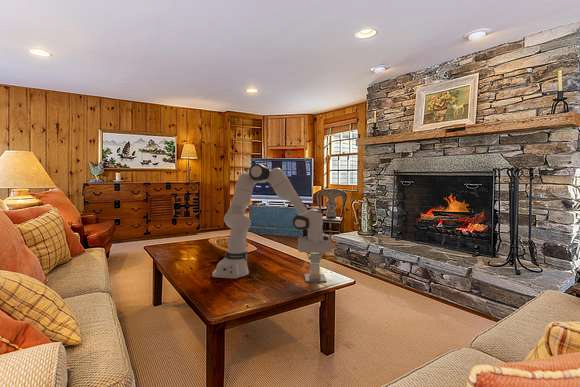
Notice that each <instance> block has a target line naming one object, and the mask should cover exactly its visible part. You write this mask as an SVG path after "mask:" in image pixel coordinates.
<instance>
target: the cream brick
mask: <svg viewBox="0 0 580 387" xmlns="http://www.w3.org/2000/svg"><path fill="white" fill-rule="evenodd" d="M320 266H321V265H320V263H311V262H310V271H311V274H321V270H320V268H321V267H320Z"/></svg>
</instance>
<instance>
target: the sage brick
mask: <svg viewBox="0 0 580 387" xmlns="http://www.w3.org/2000/svg"><path fill="white" fill-rule="evenodd" d="M310 256H311V260H310V264H311V263H319V264H320V262H321V261H320V256H321V253H320V252H310Z"/></svg>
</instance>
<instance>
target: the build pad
mask: <svg viewBox="0 0 580 387" xmlns="http://www.w3.org/2000/svg"><path fill="white" fill-rule="evenodd" d="M303 276H304V280H305V281H304V282H305V283H327V279H326V276H325V273H320V274H311V270H309V273H304V275H303Z"/></svg>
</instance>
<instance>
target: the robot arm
mask: <svg viewBox="0 0 580 387" xmlns="http://www.w3.org/2000/svg"><path fill="white" fill-rule="evenodd" d="M266 183H269V184H270V185H271V188H272V189H273V191H274V192H275V194H276V195H277V197H278V198H280V199H282V200H285V201H287V202H289V203H290V204H292V206H293V207H294V209H295V211H296V212H297V213H298V214H297V215H295V216H294V217H293V218H292V222H291V223H292V226H293V228H294V229H295V230H298V231H304V230H307V236H306V235H305V236H302V235H301V236H299V237H298V238H297V244H298V252H299V253H306V255H307V256H308V257H307V258H308V260H310V261H311V255H310V253H320V260H323V255H324V253H332V252H333V244H332V241H331V236H330V235H329V234H326V233H323V232H324V230H323V225H324V220H323V219H324V217H323V212H322V211H321V210H320V209H316V208H309V209H308V207H307V206H306V205H305V203H304V202H303V200H302V198H301V197H300V195H299V194H298V192H297V191H296V190H295V189H294V186H293V185H292V183H291V180H290V179H289V178H288V176H287V175H286V173H285V172H284V171H283V170H282V168H280V167H274V168H272V169H269V167H267V166H265V165H263V164H261V163H255V164H252V165H251V166H250V167H249V171H248V172H243V173H241V174H240V175H239V176H238V178H237V180H236V183H235V186H234V191H233V196H232V200H231V202H230V205H229V208H227V211H226V213H225V214H224V217H223V222H224V223H225V225H226V226H227V227H228V228H230V234H229V238H228V240H227V250H226V251H225V253H224V257H223V259H221V260H220V261H219V262H218V263H217V265H216V268H215V269H214V270H213V271H212V274H211V276H212V277H213V278H221V279H222V278H223V279H238V278H242V277H246V276H248V275H249V274H250V272H249V267H248V261H247V260H248V251H247V236H248V232H249V231H248V230H249V229H250V227H251V225H252V220H251V218H250V217H249V216H248V215H247V214H245V213H246V210H247V209H248V208H249V206H250V204H251V200H252V195H253V192H254V187H255V185H261V184H262V185H263V184H266Z"/></svg>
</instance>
